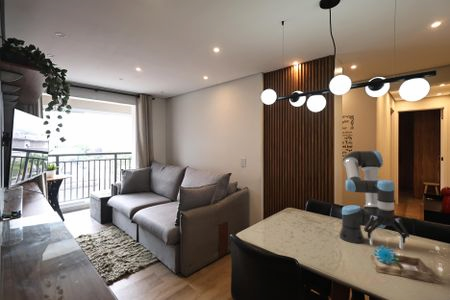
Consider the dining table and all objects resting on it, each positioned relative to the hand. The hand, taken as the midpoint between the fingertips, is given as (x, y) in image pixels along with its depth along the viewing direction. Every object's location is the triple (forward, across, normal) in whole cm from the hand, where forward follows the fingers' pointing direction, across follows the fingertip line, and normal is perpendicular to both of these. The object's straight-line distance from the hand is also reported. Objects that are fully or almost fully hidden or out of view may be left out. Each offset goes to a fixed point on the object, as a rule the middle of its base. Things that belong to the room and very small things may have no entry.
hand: (385, 246), depth 118 cm
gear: (+9, 0, 0) cm, 9 cm away
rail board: (+11, +6, -1) cm, 12 cm away
